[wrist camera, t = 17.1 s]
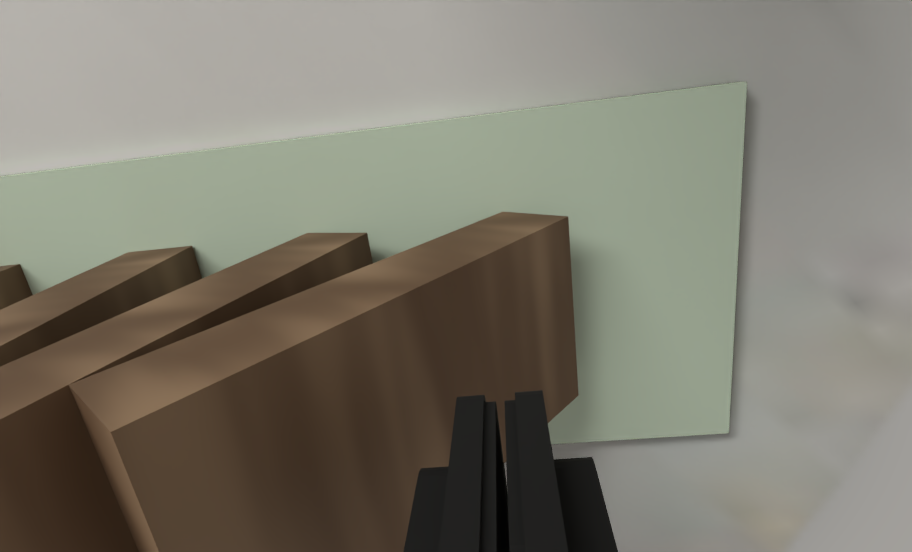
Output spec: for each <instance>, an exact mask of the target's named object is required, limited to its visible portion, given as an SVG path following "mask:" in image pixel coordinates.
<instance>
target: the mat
mask: <svg viewBox="0 0 912 552" xmlns="http://www.w3.org/2000/svg"><path fill="white" fill-rule="evenodd" d="M746 93H747V82H734V83H726V84H718V85H711V86H703V87H695V88H687V89H679V90H672V91H664V92H656V93H648V94H640V95H632V96H625V97H617V98H609V99H601V100H593V101H585V102H578V103H570V104H562V105H554V106H546V107H539V108H531V109H523V110H515V111H507V112H499V113H492V114H484V115H476V116H468V117H460V118H452V119H445V120H437V121H429V122H421V123H413V124H406V125H398V126H390V127H382V128H374V129H366V130H359V131H351V132H343V133H335V134H327V135H320V136H312V137H304V138H296V139H288V140H280V141H273V142H265V143H257V144H249V145H241V146H233V147H226V148H218V149H210V150H202V151H194V152H187V153H179V154H171V155H163V156H155V157H147V158H140V159H132V160H124V161H116V162H108V163H100V164H93V165H85V166H77V167H69V168H61V169H54V170H46V171H38V172H30V173H22V174H14V175H7V176H0V266H6V265H15V264H20V265H21V268H22V270H23V272H24V275H25V277H26V280H27V282H28V284H29V287H30V289H31V292H32V294H33V295H34V294H37V293H39V292H41V291H43V290H45V289H48V288H50V287H52V286H54V285H56V284H59V283H61V282H63V281H65V280H68V279H70V278H72V277H74V276H76V275H79V274H81V273H83V272H85V271H87V270H90V269H92V268H94V267H96V266H99V265H101V264H103V263H105V262H107V261H110V260H112V259H114V258H116V257H118V256H121V255H123V254H125V253H127V252H135V251H145V250H155V249H165V248H175V247H185V246H193V250H194V253H195V256H196V260H197V263H198V266H199V270H200V273H201V276H202V278H205V277H207V276H209V275H212V274H214V273H216V272H219V271H221V270H223V269H225V268H228V267H230V266H232V265H235V264H237V263H239V262H241V261H244V260H246V259H248V258H251V257H253V256H255V255H258V254H260V253H262V252H264V251H267V250H269V249H271V248H274V247H276V246H278V245H280V244H283V243H285V242H287V241H290V240H292V239H294V238H297V237H299V236H301V235H303V234H306V233H367V234H368V240H369V245H370V250H371V256H372V261H373V263H375V262H378V261H380V260H383V259H385V258H388V257H390V256H393V255H395V254H398V253H400V252H403V251H405V250H408V249H410V248H413V247H415V246H418V245H420V244H423V243H425V242H428V241H430V240H433V239H435V238H438V237H440V236H443V235H445V234H448V233H450V232H453V231H455V230H458V229H460V228H463V227H465V226H468V225H470V224H473V223H475V222H478V221H480V220H483V219H485V218H488V217H490V216H493V215H495V214H498V213H500V212H515V213H529V214H543V215H556V216H568V220H569V237H570V255H571V272H572V289H573V307H574V324H575V342H576V359H577V376H578V394H579V395H578V396H577V397H576V398H575V399H574V400H573V401H572V402H571V403H570V404H569V405H567V406H566V407H565V408H564V409H563V410H562V411H561V412H560V413H559V414H558V415H556V416H555V417H554V418H553V419H552V420H551V421H550V422H549V423H548V428H549V434H550V441H551V444H565V443H581V442H597V441H613V440H629V439H645V438H661V437H677V436H693V435H709V434H725V433H729V421H730V402H731V382H732V363H733V344H734V325H735V305H736V286H737V267H738V247H739V228H740V209H741V189H742V170H743V151H744V131H745V112H746Z"/></svg>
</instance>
